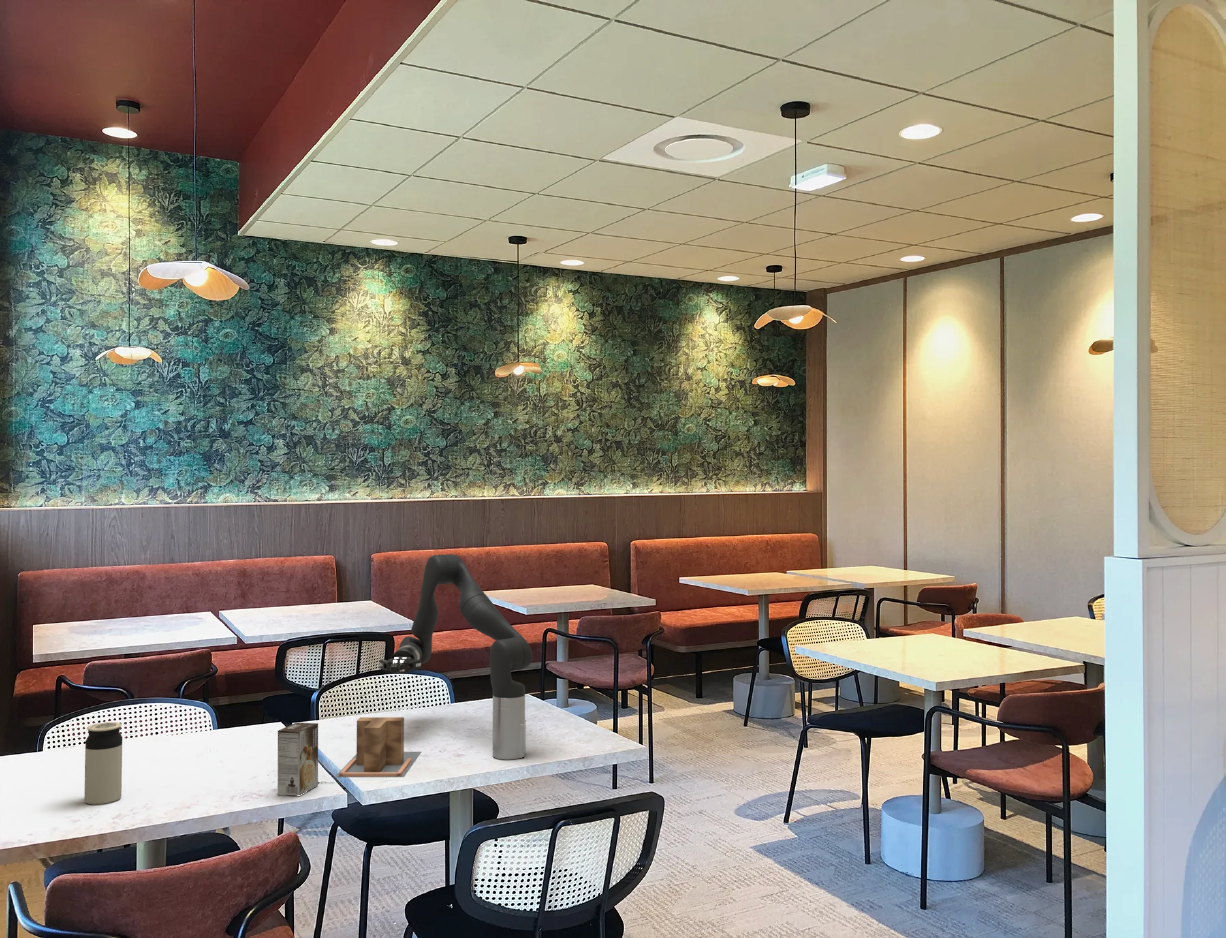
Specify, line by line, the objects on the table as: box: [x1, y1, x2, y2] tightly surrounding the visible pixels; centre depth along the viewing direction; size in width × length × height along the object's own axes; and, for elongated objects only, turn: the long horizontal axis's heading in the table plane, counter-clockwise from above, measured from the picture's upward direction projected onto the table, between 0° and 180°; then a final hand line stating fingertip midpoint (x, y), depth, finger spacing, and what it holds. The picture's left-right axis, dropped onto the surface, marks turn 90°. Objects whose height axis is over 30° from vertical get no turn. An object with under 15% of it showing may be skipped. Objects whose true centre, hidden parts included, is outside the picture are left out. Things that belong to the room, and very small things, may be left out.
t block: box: [355, 716, 405, 772], centre depth 259 cm, size 12×12×12 cm
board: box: [334, 751, 422, 778], centre depth 262 cm, size 18×25×2 cm
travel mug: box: [83, 721, 123, 806], centre depth 234 cm, size 8×8×18 cm
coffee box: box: [276, 722, 319, 796], centre depth 242 cm, size 9×6×16 cm
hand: (394, 669), depth 279 cm, fingers closed
